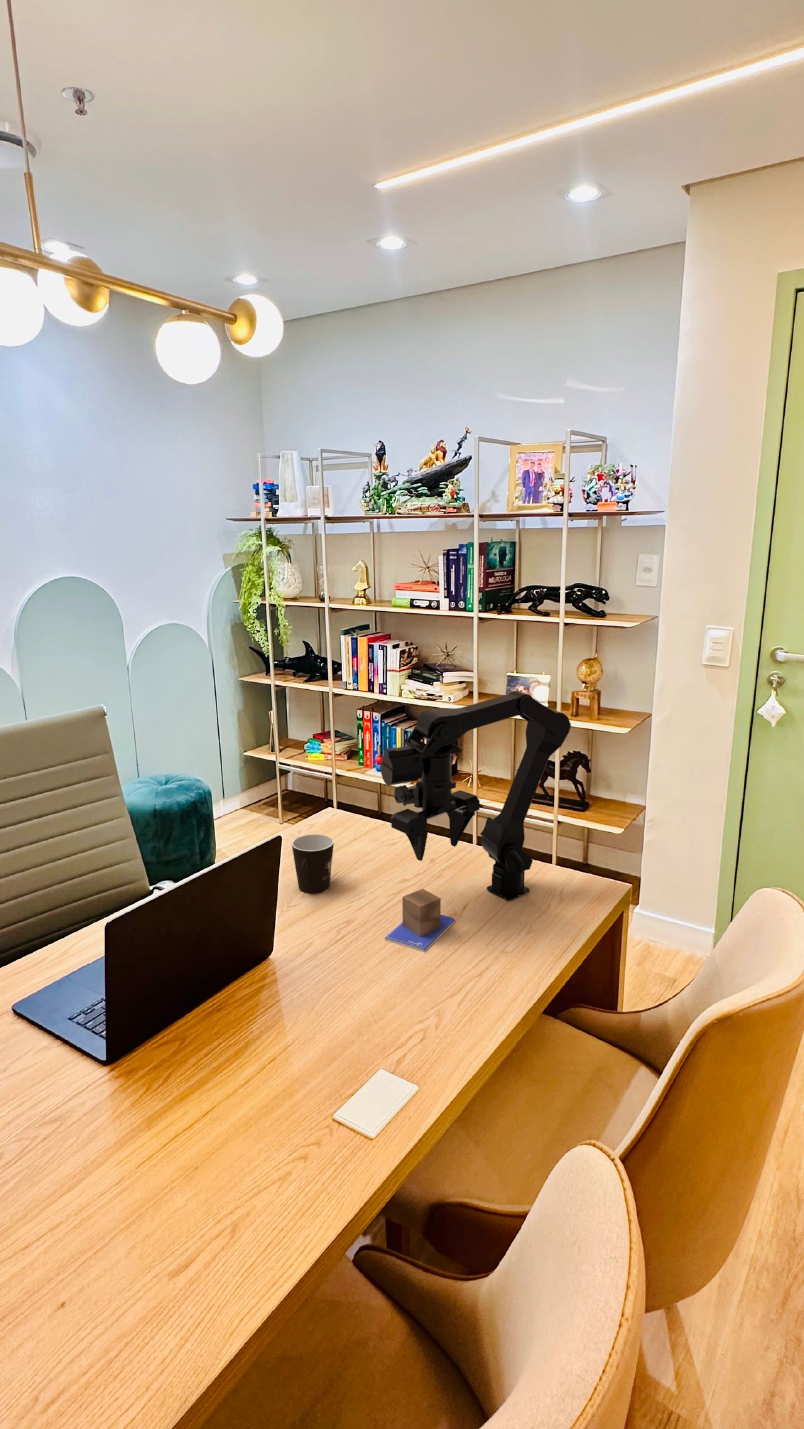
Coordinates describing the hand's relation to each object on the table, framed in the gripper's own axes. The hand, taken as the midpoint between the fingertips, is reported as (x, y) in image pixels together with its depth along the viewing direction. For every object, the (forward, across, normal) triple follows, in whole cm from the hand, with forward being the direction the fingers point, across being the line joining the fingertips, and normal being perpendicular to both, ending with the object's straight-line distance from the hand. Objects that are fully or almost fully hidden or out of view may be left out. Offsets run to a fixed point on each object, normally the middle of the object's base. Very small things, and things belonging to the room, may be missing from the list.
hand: (436, 852), depth 151 cm
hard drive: (+12, +9, +4) cm, 16 cm away
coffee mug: (+11, +15, -23) cm, 29 cm away
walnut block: (+11, +9, +5) cm, 14 cm away
